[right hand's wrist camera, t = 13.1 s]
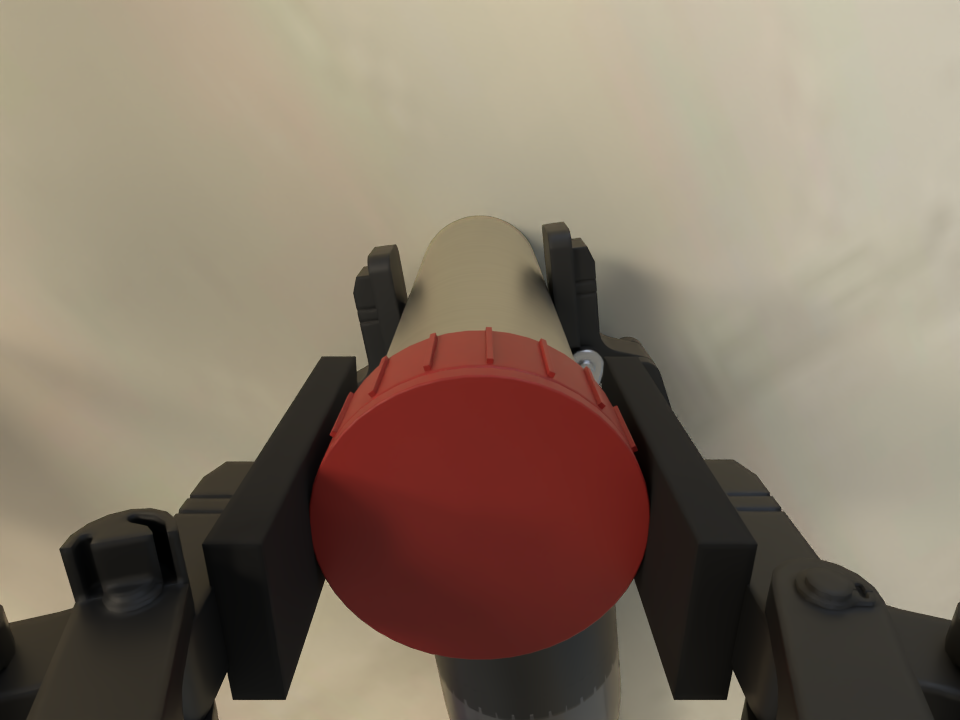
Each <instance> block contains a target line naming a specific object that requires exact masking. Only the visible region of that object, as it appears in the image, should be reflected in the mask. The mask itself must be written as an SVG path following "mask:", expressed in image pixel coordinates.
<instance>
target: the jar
mask: <svg viewBox="0 0 960 720" xmlns="http://www.w3.org/2000/svg"><path fill="white" fill-rule="evenodd" d="M486 327H492V331H498V332H507V333H512V334H516V335H520V336H524V337H528V338H531V339H534V340H536V341H540V339H541V338H542V339H544V340H546V342H547V345H549V346H551V347H552V348H554V349H556V350H558V351H560V352H562V353H563V354H565V355H567V356H568V357H569V358H571V359H572V360H573V361H575V360H574V357H573V355H572V352H571V349H570V347H569V344H568V341H567V339H566V336H565V333H564V331H563V328H562V325H561V323H560V320H559V318H558V315H557V312H556V310H555V307H554V304H553V302H552V299H551V296H550V294H549V291H548V289H547V286H546V283H545V281H544V278H543V275H542V273H541V270H540V267H539V265H538V262H537V259H536V257H535V254H534V252H533V249H532V247H531V245H530V244H529V242H528V240H527V239H526V238H525V236H524V235H523V234H522V233H521V232H520V231H519V230H518V229H516V228H515V227H514V226H512V225H511V224H509V223H507V222H505V221H503V220H500V219H498V218H494V217H489V216H471V217H466V218H462V219H459V220H457V221H454V222H452V223H451V224H449V225H447V226H446V227H445V228H443V229H442V230H441V231H440V232H439V233H438V234H437V235H436V236H435V237H434V239H433V240H432V241H431V243H430V245H429V247H428V248H427V251H426V253H425V256H424V259H423V261H422V264H421V266H420V269H419V272H418V274H417V277H416V280H415V282H414V285H413V288H412V290H411V293H410V295H409V298H408V301H407V303H406V306H405V309H404V311H403V314H402V316H401V319H400V322H399V324H398V327H397V330H396V332H395V335H394V337H393V340H392V343H391V345H390V348H389V351H388V353H387V357H388V358H390V357H391V356H393V355H394V354H396V353H398V352H400V351H401V350H403V349H405V348H407V347H408V346H411V345H413V344H416V343H418V342H420V341H423V340H425V339H428V338H429V337H430V334H432V333H436V335H437V336H439V335H443V334H447V333H454V332H461V331H477V330H486Z"/></svg>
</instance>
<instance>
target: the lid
mask: <svg viewBox="0 0 960 720" xmlns="http://www.w3.org/2000/svg"><path fill="white" fill-rule="evenodd" d="M330 436H332V437H333V438H332V440H331V442H330V444H329V447H328V449H327V451H326V453H325V456H324V458H323V460H322V462H321V464H320V466H319V469H318V472H317V475H316V477H315V479H314V483H313V487H312V492H311V497H310V503H309V515H310V525H311V533H312V541H313V549H314V553H315V556H316V559H317V562H318V564H319V566H320V568H321V570H322V573H323V575H324V577H325V578H326V580H327V582H328V583H329V585H330V586H331V588H332V589H333V591H334V592H335V594H336V595H337V596H338V597H339V598H340V600H341V601H342V602H343V603H344V604H345V605H346V607H347V608H349V609H350V610H351V611H352V612H353V613H354V614H355V615H356V616H357V617H358V618H360V619H361V620H362V621H363V622H365V623H366V624H368V625H369V626H370V627H372V628H373V629H375V630H376V631H378V632H379V633H381V634H383V635H385V636H387V637H388V638H390V639H392V640H394V641H396V642H399V643H401V644H403V645H406V646H408V647H411V648H413V649H417V650H420V651H423V652H427V653H430V654H434V655H440V656H445V657H450V658H460V659H470V660H477V659H500V658H509V657H515V656H520V655H525V654H529V653H533V652H536V651H539V650H542V649H546V648H549V647H551V646H554V645H556V644H558V643H561V642H563V641H565V640H567V639H569V638H571V637H573V636H574V635H576V634H578V633H580V632H581V631H583V630H585V629H586V628H588V627H589V626H590V625H592V624H593V623H594V622H596V621H597V620H598V619H600V618H601V617H602V616H603V615H604V614H605V613H606V612H607V611H608V610H610V609H611V608H612V607H613V606H614V605H615V604H616V602H617V601H618V600H619V599H620V597H621V596H622V595H623V594H624V593H625V591H626V590H627V588H628V587H629V585H630V584H631V582H632V580H633V579H634V577H635V575H636V574H637V571H638V569H639V567H640V564H641V562H642V560H643V557H644V554H645V550H646V545H647V538H648V530H649V521H650V501H649V496H648V491H647V486H646V482H645V479H644V477H643V474H642V472H641V469H640V466H639V464H638V462H637V459H636V457H635V455H634V452H636V451H638V449H637V447H636V445H635V443H634V441H633V439H632V436H631V434H630V432H629V430H628V428H627V426H626V424H625V421H624V419H623V417H622V415H621V413H620V411H619V408H618V406H614V407H613V406H612V405H611V403H610V401H609V399H608V397H607V396H606V394H605V392H604V391H603V390H602V389H601V387H600V386H599V385H598V383H597V382H596V381H595V379H594V377H593V374H592V372H591V370H590V369H589V368H588V367H587V366H586V367H585V368H584V369H583V368H582V367H581V366H580V365H579V364H577V363H576V362H575V361H573V360H572V359H571V358H569V357H568V356H567V355H565V354H563V353H562V352H560V351H558V350H556V349H554V348H552V347H551V346H549V345H547V342H546V340H544V339H542V338H541V339H540V341H536V340H534V339H531V338H528V337H524V336H520V335H516V334H512V333H507V332H498V331H492V327H486V330H477V331H461V332H454V333H447V334H443V335H439V336H437V335H436V333H432V334H430V337H429V338H428V339H425V340H423V341H420V342H418V343H416V344H413V345H411V346H408V347H407V348H405V349H403V350H401V351H400V352H398V353H396V354H394V355H393V356H391V357H390V358H388V357H387V356H385V357H383V358H382V359H381V362H380V364H379V366H378V367H377V368H376V369H375V370H374V371H373V372H372V373H371V374H370V375H369V376H368V377H367V378H366V379H365V380H364V381H363V382H362V384H361V385H360V386H359V388H358V389H357V390H356V392H355V393H352V392H350V393H349V394H348V396H347V398H346V400H345V403H344V405H343V407H342V409H341V411H340V413H339V416H338V418H337V420H336V422H335V424H334V426H333V428H332V431H331V433H330Z"/></svg>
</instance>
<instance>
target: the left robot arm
mask: <svg viewBox="0 0 960 720" xmlns="http://www.w3.org/2000/svg"><path fill="white" fill-rule="evenodd" d="M542 233H543V244H544V254H545V264H546V274H547V284H548V291H549V294H550V296H551V299H552V302H553V304H554V307H555V310H556V312H557V315H558V318H559V320H560V323H561V325H562V328H563V331H564V333H565V336H566V339H567V341H568V344H569V347H570V349H571V352H572V355H573V357H574V360H575V362H576V363H577V364H579V365H580V366H581V367H582V368H583V369H584V368H585V367H586V366H587V367H588V368H589V369H590V370H591V372H592V374H593V377H594V379H595V381H596V382H597V383H598V385H599V384H600V383H602V377H603V364H604V357H638V358H639V359H640V361H641V362H642V364H643V366H644V367H645V369H646V370H647V372H648V373H649V375H650V376H651V378H652V380H653V381H654V383H655V384H656V386H657V387H658V389H659V391H660V392H661V394H662V395H663V397H664V398H665V400H666V401H667V403H668V405H669V406H670V403H669V400H668V396H667V393H666V390H665V387H664V384H663V381H662V377H661V374H660V372H659V370H658V368H657V367H656V365H655V364H654V362H653V361H652V359H651V358H650V356H649V355H648V353H647V352H646V351H645V349H644V348H643V346H642V345H641V343H640V342H639V341H638V340H636V339H635V338H632V337H623V338H620V339H617V338H612V337H608V336H605V335H603V334H601V333H600V331H599V317H598V303H597V292H596V291H597V288H596V274H595V261H594V259H593V257H592V255H591V253H590V251H589V249H588V247H587V246H586V245H585V243H584V242H583V241H582V239H581V238H575V239H571V235H570V231H569V228H568V227H567V226H566V224H565V223H564V222H559V223H551V224H544V225H542ZM353 294H354V299H355V303H356V308H357V311H358V317H359V321H360V326H361V331H362V335H363V340H364V344H365V349H366V353H367V358H368V363H369V365H368V366H366V367H365V368H363V369H361V370H359V371H357V382H358V388H359V386H360V385H361V384H362V382H363V381H364V380H365V379H366V378H367V377H368V376H369V375H370V374H371V373H372V372H373V371H374V370H375V369H376V368H377V367H378V366H379V364H380V362H381V359H382V358H383V357H385V356H387V353H388V351H389V348H390V345H391V343H392V340H393V337H394V335H395V332H396V330H397V327H398V324H399V322H400V319H401V316H402V314H403V311H404V309H405V306H406V303H407V301H408V298H407V293H406V288H405V282H404V277H403V272H402V266H401V261H400V256H399V251H398V248H397V246H396V244H395V245H387V246H380V247H375V248H374V249H373V250H372V252H371V253H370V254H369V256H368V266H366V267H363V269H362V270H361V271H360V273H359V274H358V275H357V277H356V281H355V287H354V292H353ZM670 408H671V406H670ZM435 658H436V662H437V667H438V672H439V676H440V681H441V686H442V690H443V695H444V699H445V703H446V707H447V711H448V714H449V718H450V720H618V717H619V710H620V698H621V680H620V665H619V651H618V637H617V624H616V609H615V605H614V606H613V607H612V608H611V609H610V610H608V611H607V612H606V613H605V614H604V615H603V616H602V617H601V618H600V619H598V620H597V621H596V622H594V623H593V624H592V625H590V626H589V627H588V628H586V629H585V630H583V631H581V632H580V633H578V634H576V635H574V636H573V637H571V638H569V639H567V640H565V641H563V642H561V643H558V644H556V645H554V646H551V647H549V648H546V649H542V650H539V651H536V652H533V653H529V654H525V655H520V656H515V657H509V658H500V659H477V660H470V659H460V658H450V657H445V656H440V655H435Z"/></svg>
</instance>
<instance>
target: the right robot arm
mask: <svg viewBox="0 0 960 720" xmlns="http://www.w3.org/2000/svg"><path fill="white" fill-rule="evenodd" d="M357 389H358V382H357V369H356V357H321V359H320V360H319V362H318V363H317V365H316V366H315V368H314V370H313V371H312V373H311V374H310V376H309V377H308V379H307V381H306V382H305V384H304V385H303V387H302V388H301V390H300V391H299V393H298V395H297V396H296V398H295V399H294V401H293V402H292V404H291V406H290V407H289V409H288V410H287V412H286V413H285V415H284V416H283V418H282V420H281V421H280V423H279V424H278V426H277V427H276V429H275V431H274V432H273V434H272V435H271V437H270V438H269V440H268V441H267V443H266V445H265V446H264V448H263V449H262V451H261V452H260V454H259V456H258V457H257V459H256V460H255V462H225V463H224V464H222V465H221V466H219V467H218V468H216V469H215V470H213V471H212V472H210V473H209V474H207V475H206V476H204V477H203V479H202V480H201V481H200V483H199V484H198V485H197V487H196V488H195V489H194V491H193V492H192V493H191V495H190V499H187V500H186V501H185V503H184V504H183V505H182V507H181V508H180V509H179V514H176V515H175V516H174V517H173V516H171V515H170V514H169V513H168V512H166V511H161V510H157V509H152V508H147V509H130V510H126V511H122V512H118V513H114V514H110V515H107V516H105V517H102V518H100V519H98V520H96V521H93V522H91V523H89V524H87V525H85V526H84V527H82V528H81V529H80V530H78V531H77V532H75V533H74V534H72V535H71V536H70V537H69V538H68V539H67V540H66V542H65V543H64V544H63V545H62V547H61V548H60V553H61V556H62V559H63V563H64V566H65V569H66V572H67V576H68V579H69V582H70V586H71V589H72V592H73V596H74V599H75V602H76V603H75V605H74V607H73V608H72V609H68V610H65V611H61V612H57V613H52V614H48V615H43V616H39V617H34V618H30V619H25V620H21V621H16V622H12V623H8V620H7V617H6V614H5V612H4V609H3V606H2V605H0V720H218V713H217V708H216V703H215V698H216V695H217V693H218V691H219V689H220V686H221V684H222V682H223V680H224V678H225V675H226V673H228V678H229V683H230V688H231V693H232V698H233V700H286V697H287V694H288V691H289V688H290V685H291V682H292V679H293V676H294V673H295V670H296V667H297V664H298V660H299V657H300V654H301V651H302V648H303V645H304V642H305V639H306V636H307V633H308V630H309V627H310V624H311V621H312V618H313V615H314V612H315V609H316V606H317V603H318V600H319V597H320V594H321V591H322V588H323V584H324V581H325V577H324V575H323V573H322V570H321V568H320V566H319V564H318V562H317V559H316V556H315V553H314V549H313V541H312V533H311V525H310V515H309V503H310V497H311V492H312V487H313V483H314V479H315V477H316V475H317V472H318V469H319V466H320V464H321V462H322V460H323V458H324V456H325V453H326V451H327V449H328V447H329V444H330V442H331V440H332V438H333V437H332V436H330V433H331V431H332V428H333V426H334V424H335V422H336V420H337V418H338V416H339V413H340V411H341V409H342V407H343V405H344V403H345V400H346V398H347V396H348V394H349V393H350V392H352V393H355V392H356V390H357ZM602 390H603V391H604V392H605V394H606V396H607V397H608V399H609V401H610V403H611V405H612V406H613V407H614V406H618V408H619V411H620V413H621V415H622V417H623V419H624V421H625V424H626V426H627V428H628V430H629V432H630V434H631V436H632V439H633V441H634V443H635V445H636V447H637V449H638V451H636V452H634V455H635V457H636V459H637V462H638V464H639V466H640V469H641V472H642V474H643V477H644V479H645V482H646V486H647V491H648V496H649V501H650V521H649V530H648V538H647V545H646V550H645V554H644V557H643V560H642V562H641V564H640V567H639V569H638V571H637V574H636V575H635V577H634V580H635V583H636V586H637V589H638V592H639V595H640V598H641V601H642V604H643V607H644V610H645V613H646V616H647V619H648V622H649V625H650V628H651V631H652V634H653V637H654V640H655V643H656V646H657V649H658V652H659V656H660V659H661V662H662V665H663V668H664V671H665V674H666V677H667V680H668V683H669V686H670V689H671V692H672V695H673V698H674V700H727V696H728V691H729V686H730V681H731V676H732V671H734V673H735V675H736V677H737V680H738V682H739V684H740V686H741V689H742V691H743V693H744V695H745V697H746V698H745V703H744V708H743V712H742V717H741V720H960V602H959V603H958V605H957V607H956V610H955V613H954V616H953V619H952V620H947V619H943V618H938V617H933V616H929V615H924V614H920V613H915V612H911V611H906V610H902V609H898V608H894V607H891V606H887V605H886V604H885V602H884V600H883V599H882V597H881V596H880V595H879V593H878V592H877V590H876V589H875V587H873V586H872V585H871V584H870V583H868V582H867V581H866V580H864V579H863V578H862V577H861V576H859V575H858V574H856V573H854V572H852V571H850V570H848V569H846V568H844V567H842V566H840V565H838V564H834V563H830V562H827V561H823V560H820V558H819V557H818V556H817V555H816V553H815V552H814V551H813V549H812V548H811V547H810V545H809V544H808V543H807V541H806V540H805V539H804V537H803V536H802V535H801V533H800V532H799V531H798V529H797V528H796V527H795V525H794V524H793V523H792V521H791V520H790V519H789V518H788V516H787V515H786V514H785V512H784V511H781V507H780V506H779V504H778V503H777V502H776V500H775V499H774V498H773V496H770V492H769V491H768V490H767V488H766V487H765V486H764V484H763V483H762V482H761V481H760V479H759V478H758V477H757V475H756V474H754V473H753V472H751V471H750V470H748V469H747V468H745V467H744V466H742V465H741V464H739V463H738V462H736V461H735V460H704V459H703V458H702V456H701V455H700V453H699V451H698V450H697V448H696V447H695V445H694V444H693V442H692V441H691V439H690V437H689V436H688V434H687V433H686V431H685V430H684V428H683V426H682V425H681V423H680V422H679V420H678V419H677V417H676V416H675V414H674V412H673V411H672V409H671V408H670V406H669V405H668V403H667V401H666V400H665V398H664V397H663V395H662V394H661V392H660V391H659V389H658V387H657V386H656V384H655V383H654V381H653V380H652V378H651V376H650V375H649V373H648V372H647V370H646V369H645V367H644V366H643V364H642V362H641V361H640V359H639V358H638V357H604V364H603V377H602Z"/></svg>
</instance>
